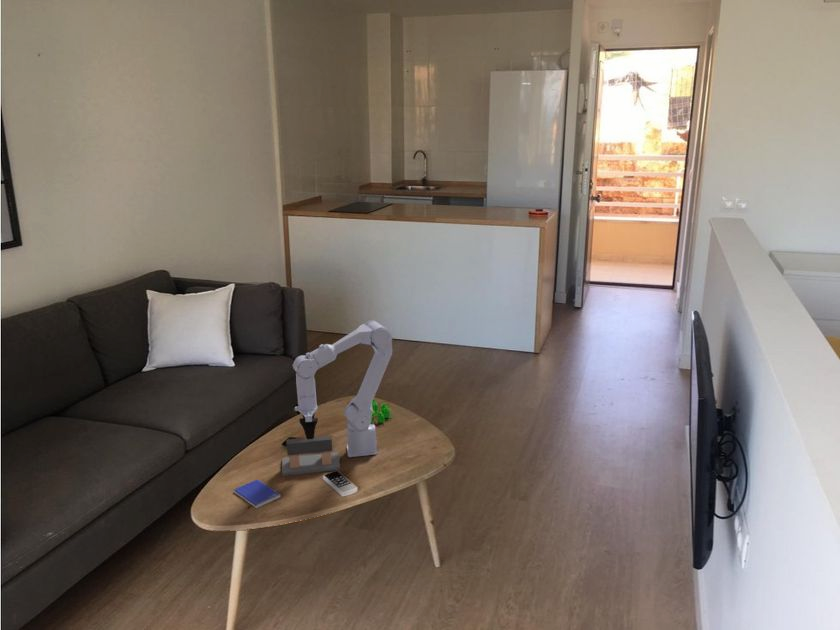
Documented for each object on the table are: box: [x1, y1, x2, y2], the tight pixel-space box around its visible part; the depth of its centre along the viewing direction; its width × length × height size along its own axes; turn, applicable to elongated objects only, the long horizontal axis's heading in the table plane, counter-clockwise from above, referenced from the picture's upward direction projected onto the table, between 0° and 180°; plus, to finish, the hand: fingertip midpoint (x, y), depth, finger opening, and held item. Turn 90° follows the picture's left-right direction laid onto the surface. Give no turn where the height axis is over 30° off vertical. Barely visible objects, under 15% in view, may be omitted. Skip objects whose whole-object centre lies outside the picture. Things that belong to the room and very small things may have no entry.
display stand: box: [281, 451, 341, 477], centre depth 211 cm, size 18×10×5 cm, turn 100°
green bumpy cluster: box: [371, 399, 393, 425], centre depth 244 cm, size 15×15×7 cm
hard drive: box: [233, 479, 281, 509], centre depth 196 cm, size 2×8×12 cm
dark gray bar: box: [286, 434, 333, 456], centre depth 210 cm, size 14×3×4 cm, turn 100°
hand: (309, 433), depth 211 cm, fingers open, 7 cm apart
